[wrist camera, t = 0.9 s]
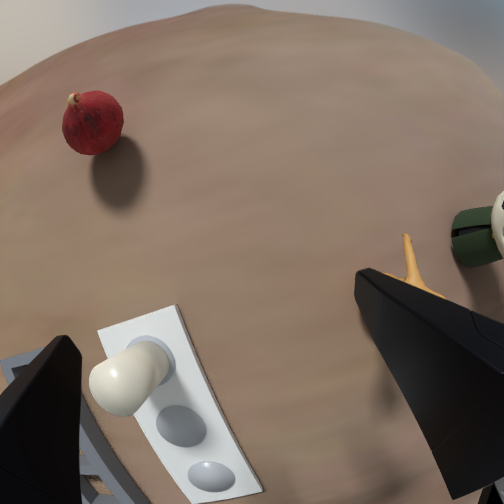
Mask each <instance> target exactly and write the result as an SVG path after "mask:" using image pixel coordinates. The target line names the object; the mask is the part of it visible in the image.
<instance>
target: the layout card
mask: <svg viewBox="0 0 504 504" xmlns="http://www.w3.org/2000/svg"><path fill="white" fill-rule="evenodd" d="M98 334H99V337H100V340H101V342H102V345H103V348H104V350H105V353H106V355H107V358H108V359H107V360H105V361H104V362H102V363H100V364H98V365H96V366H95V367H94V368H93V369H92V371H91V373H90V377H89V386H90V390H91V393H92V395H93V397H94V399H95V400H96V402H97V403H98V404H99V405H100V406H101V407H102V408H103V409H104V410H106V411H107V412H109V413H111V414H113V415H116V416H123V417H125V416H130V415H132V414H134V416H135V418H136V419H137V421H138V423H139V425H140V427H141V429H142V430H143V432H144V434H145V436H146V437H147V439H148V441H149V442H150V444H151V446H152V447H153V449H154V451H155V452H156V454H157V455H158V457H159V458H160V460H161V462H162V463H163V465H164V466H165V468H166V469H167V470H168V472H169V473H170V475H171V476H172V478H173V479H174V481H175V482H176V483H177V485H178V486H179V487H180V489H181V490H182V491H183V493H184V494H185V495H186V497H187V498H188V499H189V500H190V502H191V503H192V504H196V503H204V502H212V501H218V500H224V499H230V498H235V497H240V496H245V495H249V494H253V493H258V492H262V485H261V483H260V482H259V480H258V478H257V476H256V475H255V473H254V471H253V469H252V468H251V466H250V464H249V462H248V461H247V459H246V457H245V455H244V453H243V451H242V450H241V448H240V446H239V444H238V442H237V440H236V438H235V436H234V434H233V432H232V430H231V429H230V427H229V425H228V423H227V421H226V419H225V416H224V414H223V412H222V410H221V408H220V406H219V404H218V402H217V400H216V398H215V395H214V393H213V391H212V389H211V387H210V384H209V382H208V380H207V378H206V375H205V373H204V371H203V369H202V366H201V364H200V362H199V359H198V357H197V354H196V352H195V350H194V347H193V345H192V342H191V340H190V337H189V335H188V332H187V329H186V327H185V324H184V322H183V319H182V316H181V314H180V311H179V308H178V306H177V304H175V305H172V306H169V307H167V308H164V309H161V310H158V311H155V312H152V313H149V314H146V315H143V316H140V317H137V318H134V319H131V320H128V321H125V322H122V323H119V324H116V325H113V326H110V327H107V328H104V329H101V330H98Z"/></svg>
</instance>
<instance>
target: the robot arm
mask: <svg viewBox="0 0 504 504" xmlns="http://www.w3.org/2000/svg"><path fill="white" fill-rule="evenodd" d="M354 296H355V300H356V303H357V305H358V307H359V309H360V311H361V314H362V316H363V318H364V320H365V322H366V325H367V327H368V329H369V332H370V334H371V336H372V338H373V340H374V342H375V344H376V346H377V348H378V350H379V351H380V353H381V355H382V357H383V358H384V360H385V362H386V364H387V366H388V367H389V369H390V371H391V373H392V375H393V376H394V378H395V380H396V382H397V384H398V386H399V388H400V389H401V391H402V393H403V395H404V397H405V399H406V401H407V403H408V405H409V407H410V408H411V410H412V412H413V414H414V416H415V418H416V420H417V422H418V424H419V426H420V428H421V430H422V432H423V434H424V437H425V439H426V441H427V443H428V445H429V447H430V449H431V451H432V454H433V456H434V458H435V460H436V463H437V465H438V467H439V469H440V472H441V474H442V476H443V479H444V481H445V483H446V486H447V488H448V491H449V493H450V496H451V498H452V499H453V500H455V499H457V498H460V497H462V496H465V495H467V494H470V493H472V492H474V491H477V490H479V489H481V488H483V487H485V486H486V487H485V488H483V490H482V493H481V496H480V499H479V501H478V504H504V324H503V323H500V322H497V321H495V320H492V319H490V318H488V317H485V316H483V315H481V314H478V313H476V312H474V311H470V310H469V309H467V308H465V307H462V306H460V305H458V304H456V303H453V302H451V301H449V300H446V299H444V298H442V297H439V296H437V295H435V294H432V293H430V292H428V291H425V290H423V289H420V288H418V287H416V286H413V285H411V284H408V283H406V282H403V281H401V280H399V279H396V278H394V277H391V276H389V275H386V274H384V273H381V272H379V271H376V270H374V269H371V268H366V269H362V270H359V271H357V272H356V275H355V290H354ZM81 381H82V355H81V353H80V351H79V349H78V348H77V347H76V345H75V344H74V343H73V341H72V340H71V339H70V337H69V336H67V335H60V336H56V337H55V338H54V339H53V340H52V341H51V342H50V343H49V344H48V345H47V346H46V347H45V348H44V349H43V350H42V351H41V352H40V353H39V354H38V355H37V356H36V357H35V358H34V359H33V360H32V361H31V362H30V363H29V364H28V365H27V366H26V367H25V368H24V369H23V371H22V372H21V373H20V374H19V375H18V376H17V377H16V378H15V379H14V380H13V381H12V382H11V384H10V385H9V386H8V387H7V388H6V389H5V390H4V391H3V392H2V394H1V395H0V504H82V495H81V482H80V456H79V440H80V413H81Z"/></svg>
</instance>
